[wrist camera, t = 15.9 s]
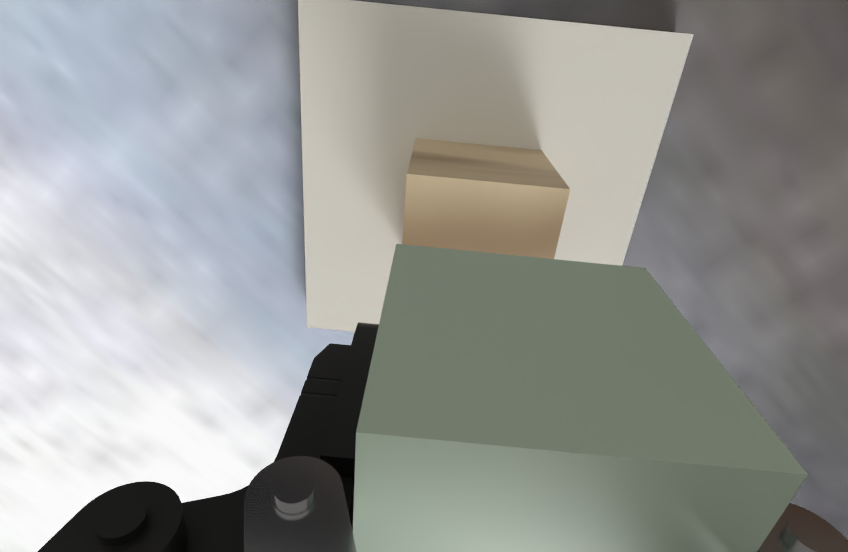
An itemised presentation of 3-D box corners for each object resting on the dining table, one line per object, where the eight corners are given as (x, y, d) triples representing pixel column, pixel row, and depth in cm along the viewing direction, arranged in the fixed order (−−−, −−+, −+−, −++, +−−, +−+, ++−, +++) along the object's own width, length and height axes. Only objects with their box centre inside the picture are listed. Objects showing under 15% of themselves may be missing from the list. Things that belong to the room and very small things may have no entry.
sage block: (584, 446, 12) (663, 692, 8) (383, 427, 12) (348, 663, 8) (645, 268, 10) (808, 474, 5) (396, 243, 10) (356, 432, 5)
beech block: (519, 263, 22) (538, 325, 17) (407, 252, 22) (396, 312, 17) (541, 150, 19) (570, 189, 15) (415, 138, 19) (407, 173, 15)
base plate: (586, 336, 25) (594, 354, 24) (314, 310, 25) (307, 327, 24) (675, 33, 19) (693, 34, 17) (308, -4, 19) (297, -6, 17)
